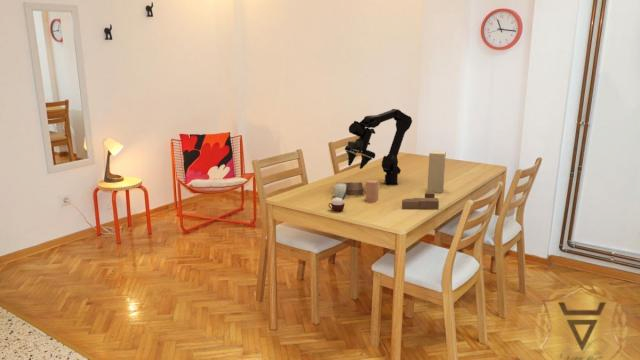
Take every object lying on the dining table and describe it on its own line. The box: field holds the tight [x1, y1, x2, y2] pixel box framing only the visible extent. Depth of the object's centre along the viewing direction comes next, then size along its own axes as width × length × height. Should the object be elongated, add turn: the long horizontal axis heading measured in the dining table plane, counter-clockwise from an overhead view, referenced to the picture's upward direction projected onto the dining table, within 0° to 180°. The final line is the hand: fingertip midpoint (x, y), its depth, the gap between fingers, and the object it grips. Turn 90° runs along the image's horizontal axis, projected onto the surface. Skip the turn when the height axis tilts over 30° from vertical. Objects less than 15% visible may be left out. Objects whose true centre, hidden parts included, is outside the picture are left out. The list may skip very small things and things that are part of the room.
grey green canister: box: [333, 182, 347, 200], centre depth 269 cm, size 6×6×7 cm
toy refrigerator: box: [426, 150, 447, 194], centre depth 277 cm, size 8×7×21 cm
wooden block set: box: [401, 191, 440, 210], centre depth 257 cm, size 17×6×18 cm
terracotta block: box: [365, 179, 380, 203], centre depth 263 cm, size 5×5×10 cm
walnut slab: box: [344, 182, 364, 196], centre depth 280 cm, size 14×14×3 cm
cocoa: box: [328, 186, 349, 213], centre depth 248 cm, size 10×6×12 cm, turn 59°
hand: (354, 167), depth 276 cm, fingers open, 9 cm apart
